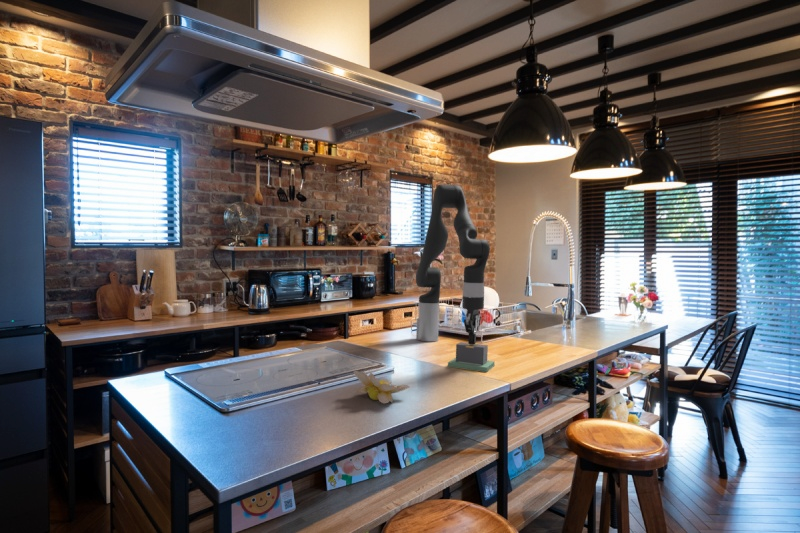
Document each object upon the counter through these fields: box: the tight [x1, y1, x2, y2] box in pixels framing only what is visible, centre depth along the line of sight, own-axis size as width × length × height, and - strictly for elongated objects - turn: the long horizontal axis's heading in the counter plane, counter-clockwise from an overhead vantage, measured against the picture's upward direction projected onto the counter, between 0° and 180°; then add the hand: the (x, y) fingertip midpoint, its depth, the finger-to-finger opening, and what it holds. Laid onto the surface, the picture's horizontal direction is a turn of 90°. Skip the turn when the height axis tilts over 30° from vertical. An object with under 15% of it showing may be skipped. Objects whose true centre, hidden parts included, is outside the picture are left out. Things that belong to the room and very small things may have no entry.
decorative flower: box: [352, 370, 411, 404], centre depth 122 cm, size 15×11×10 cm
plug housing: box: [455, 341, 489, 365], centre depth 159 cm, size 10×5×6 cm, turn 63°
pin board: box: [447, 357, 495, 373], centre depth 159 cm, size 14×10×6 cm
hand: (471, 344), depth 159 cm, fingers closed
